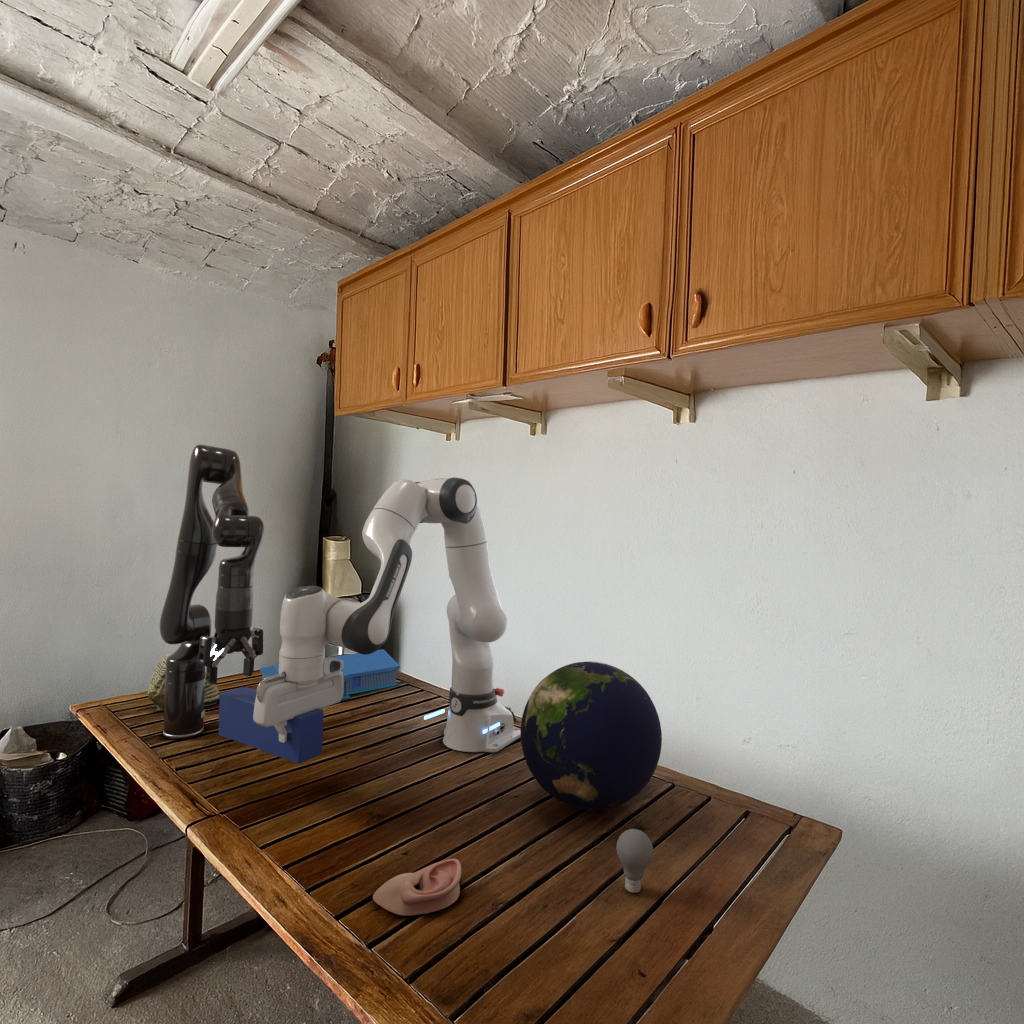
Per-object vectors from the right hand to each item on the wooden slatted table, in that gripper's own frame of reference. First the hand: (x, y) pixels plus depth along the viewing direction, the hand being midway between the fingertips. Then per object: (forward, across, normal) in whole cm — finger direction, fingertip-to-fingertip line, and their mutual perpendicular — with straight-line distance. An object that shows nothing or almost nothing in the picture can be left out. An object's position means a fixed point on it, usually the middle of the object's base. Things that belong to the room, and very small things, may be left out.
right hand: (299, 735), depth 128 cm
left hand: (-8, 0, +22) cm, 23 cm away
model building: (+15, +61, +54) cm, 82 cm away
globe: (+15, +37, -48) cm, 62 cm away
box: (+4, 0, +9) cm, 10 cm away
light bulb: (+15, +13, -66) cm, 69 cm away
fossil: (+15, +22, +74) cm, 79 cm away
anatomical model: (+15, -8, -38) cm, 42 cm away
